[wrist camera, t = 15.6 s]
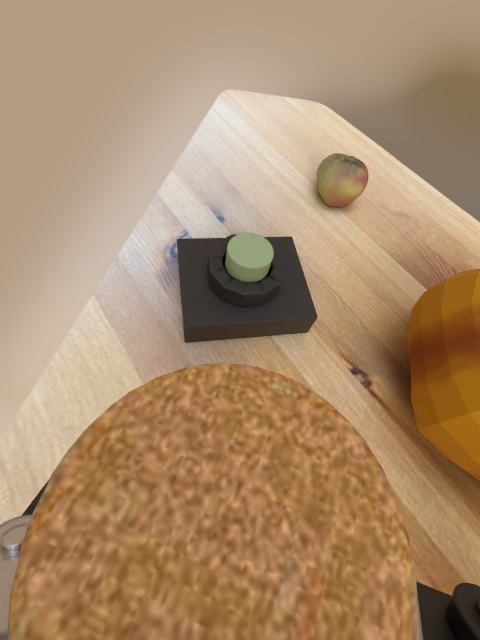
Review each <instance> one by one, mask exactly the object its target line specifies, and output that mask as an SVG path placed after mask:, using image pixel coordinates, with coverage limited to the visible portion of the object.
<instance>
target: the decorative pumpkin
mask: <svg viewBox="0 0 480 640" xmlns="http://www.w3.org/2000/svg"><path fill="white" fill-rule="evenodd" d="M407 350H408V356H409V362H410V368H411V403H412V407H413V412H414V417H415V421H416V426H417V430H418V431H419V432H420V433H421V434H422V435H423V436H424V437H425V438H426V439H427V440H428V441H429V442H430V443H431V444H432V445H433V446H434V447H435V448H436V449H437V450H438V451H439V452H440V453H441V454H442V455H444V456H445V457H446V458H448V459H449V460H450V461H452V462H453V463H454V464H456V465H457V466H459V467H460V468H461V469H463V470H464V471H465V472H467V473H468V474H469V475H471V476H472V477H474V478H475V479H476V480H477V481H478V482H479V483H480V269H475V270H469V271H463V272H461V273H459V274H457V275H455V276H452V277H450V278H448V279H446V280H444V281H443V282H441V283H439V284H438V285H436V286H434V287H432V288H431V289H429V290H427V291H426V292H424V293H423V295H422V296H421V297H420V299H419V300H418V301H417V303H416V304H415V306H414V307H413V308H412V312H411V317H410V323H409V330H408V339H407Z"/></svg>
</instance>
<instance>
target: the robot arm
mask: <svg viewBox="0 0 480 640" xmlns="http://www.w3.org/2000/svg"><path fill="white" fill-rule="evenodd" d="M49 480H50V479H49ZM49 480H48V482H49ZM48 482H47V483H46V484H45V486H44V487H43V488H42V490H41V491H40V492H39V494H38V495H37V496H36V498H35V499H34V500H33V501H32V503H31V504H30V505H29V507H28V508H27V509H26V511H25V512H24V513H23V515H22V516H20V517H16V518H13V519H11V520H9V521H7V522H5V523H3V524H1V525H0V640H7V632H8V617H9V603H10V593H11V589H12V584H13V580H14V576H15V571H16V567H17V563H18V558H19V554H20V550H21V545H22V542H23V539H24V536H25V534H26V531H27V528H28V525H29V522H30V520H31V517H32V514H33V512H34V510H35V508H36V506H37V504H38V502H39V500H40V498H41V496H42V494H43V492H44V490H45V488H46V486H47V484H48ZM416 583H417V640H480V587H479V586H477V585H474V584H470V583H461V584H459V585H457V586H456V587H455V589H454V591H453V594H452V596H450V595H448V594H445V593H443V592H440V591H438V590H435V589H433V588H430V587H428V586H425V585H423V584H421V583H419V582H416Z"/></svg>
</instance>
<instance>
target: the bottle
mask: <svg viewBox="0 0 480 640" xmlns="http://www.w3.org/2000/svg"><path fill="white" fill-rule="evenodd" d="M7 640H417V583H416V576H415V569H414V563H413V557H412V551H411V545H410V540H409V537H408V533H407V530H406V527H405V524H404V521H403V518H402V515H401V512H400V508H399V505H398V502H397V499H396V497H395V495H394V493H393V491H392V489H391V486H390V484H389V482H388V480H387V478H386V475H385V473H384V471H383V469H382V467H381V465H380V464H379V462H378V461H377V459H376V458H375V456H374V454H373V453H372V451H371V450H370V448H369V447H368V445H367V443H366V442H365V440H364V439H363V438H362V437H361V435H360V434H359V433H358V432H357V431H356V429H355V428H354V427H353V426H352V425H351V423H350V422H349V421H348V420H347V419H346V418H345V417H344V416H342V415H341V414H340V413H339V412H338V411H337V410H336V409H335V408H334V407H333V406H332V405H331V404H330V403H329V402H327V401H326V400H325V399H323V398H322V397H320V396H319V395H317V394H316V393H315V392H313V391H312V390H310V389H309V388H307V387H306V386H304V385H302V384H300V383H298V382H297V381H295V380H293V379H290V378H288V377H285V376H283V375H280V374H278V373H275V372H271V371H268V370H265V369H262V368H258V367H253V366H247V365H240V364H206V365H200V366H194V367H189V368H183V369H181V370H178V371H175V372H172V373H169V374H166V375H163V376H160V377H158V378H155V379H153V380H151V381H150V382H148V383H146V384H144V385H142V386H140V387H138V388H136V389H135V390H133V391H131V392H129V393H128V394H126V395H125V396H124V397H122V398H121V399H120V400H118V401H117V402H115V403H114V404H113V405H111V406H110V407H109V408H108V409H107V410H106V411H105V412H104V413H103V414H102V415H100V416H99V417H98V418H97V419H96V420H95V421H94V422H93V423H92V424H91V425H90V426H89V427H88V428H87V429H86V430H85V431H84V432H83V433H82V434H81V436H80V437H79V438H78V439H77V441H76V442H75V443H74V444H73V446H72V447H71V448H70V449H69V450H68V452H67V453H66V455H65V456H64V457H63V459H62V460H61V462H60V463H59V465H58V466H57V468H56V469H55V471H54V472H53V474H52V476H51V478H50V480H49V482H48V484H47V486H46V488H45V490H44V492H43V494H42V496H41V498H40V500H39V502H38V504H37V506H36V508H35V510H34V512H33V514H32V517H31V520H30V522H29V525H28V528H27V531H26V534H25V536H24V539H23V542H22V545H21V550H20V554H19V558H18V563H17V567H16V571H15V576H14V580H13V584H12V589H11V593H10V603H9V617H8V632H7Z"/></svg>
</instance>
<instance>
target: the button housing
mask: <svg viewBox="0 0 480 640" xmlns="http://www.w3.org/2000/svg"><path fill="white" fill-rule="evenodd" d="M234 236H236V235H230V236H228V237H226V238H200V239H177V247H178V263H179V276H180V289H181V302H182V315H183V327H184V340H185V342H197V341H209V340H221V339H233V338H245V337H257V336H269V335H281V334H293V333H306V332H308V331H309V329H310V328H311V326H312V325H313V323H314V322H315V320H316V319H317V314H316V311H315V308H314V305H313V301H312V298H311V295H310V292H309V289H308V286H307V283H306V280H305V276H304V273H303V270H302V267H301V264H300V261H299V258H298V255H297V251H296V248H295V245H294V242H293V239H292V237H264V238H265V239H266V240H268V241H269V242H270V244H271V245H272V247H273V251H274V256H273V259H272V262H271V265H270V268H269V271H268V274H267V275H266V277H265V278H263V279H262V280H260V281H258V282H254V283H245V282H241V281H238V280H236V279H235V278H233V277H232V276H231V275H230V274H229V273H228V271H227V269H226V266H225V260H226V252H227V246H228V243H229V241H230V240H231V239H232V238H233V237H234Z"/></svg>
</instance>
